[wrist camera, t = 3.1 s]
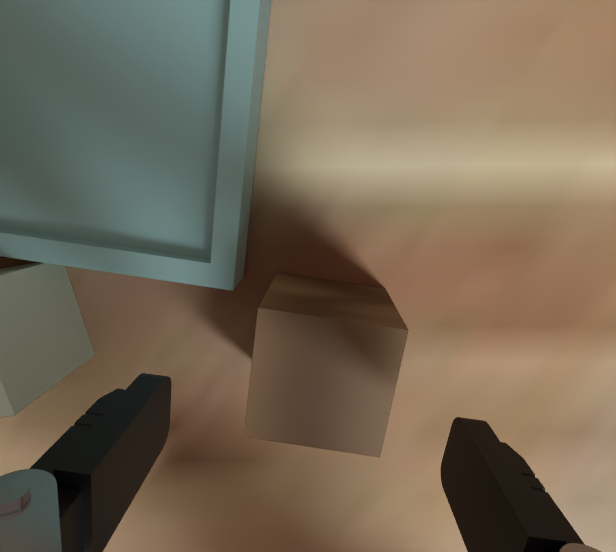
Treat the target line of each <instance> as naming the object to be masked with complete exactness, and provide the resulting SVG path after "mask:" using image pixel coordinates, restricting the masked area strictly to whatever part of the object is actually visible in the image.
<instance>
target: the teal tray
mask: <svg viewBox="0 0 616 552" xmlns="http://www.w3.org/2000/svg"><path fill="white" fill-rule="evenodd" d="M270 6H271V0H0V256H2V257H8V258H15V259H22V260H29V261H36V262H42V263H49V264H56V265H63V266H69V267H76V268H83V269H90V270H96V271H103V272H110V273H117V274H123V275H130V276H137V277H144V278H150V279H157V280H164V281H171V282H177V283H184V284H191V285H198V286H204V287H211V288H218V289H225V290H231V291H233V290H234V289H235V288H236V286H237V285H238V284H239V283H240V282H241V281H242V279H243V277H244V267H245V257H246V247H247V237H248V227H249V217H250V207H251V197H252V187H253V177H254V167H255V157H256V147H257V136H258V126H259V116H260V106H261V96H262V86H263V76H264V66H265V56H266V46H267V36H268V26H269V16H270Z"/></svg>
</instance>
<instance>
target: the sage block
mask: <svg viewBox="0 0 616 552" xmlns="http://www.w3.org/2000/svg"><path fill="white" fill-rule="evenodd" d="M93 356H95V354H94V351H93V348H92V345H91V342H90V339H89V336H88V333H87V330H86V327H85V324H84V321H83V318H82V315H81V312H80V309H79V306H78V303H77V300H76V297H75V294H74V291H73V288H72V286H71V283H70V280H69V277H68V274H67V271H66V268H65V266H63V265H56V264H49V263H42V262H36V263H30V264H24V265H18V266H12V267H7V268H1V269H0V417H6V416H14V415H16V414H17V413H19V412H20V411H21V410H23V409H24V408H25V407H27V406H28V405H29V404H31V403H32V402H33V401H35V400H36V399H37V398H39V397H40V396H41V395H43V394H44V393H45V392H47V391H48V390H49V389H51V388H52V387H53V386H55V385H56V384H57V383H59V382H60V381H61V380H63V379H64V378H65V377H67V376H68V375H69V374H71V373H72V372H73V371H75V370H76V369H77V368H79V367H80V366H81V365H83V364H84V363H85V362H87V361H88V360H89V359H91V358H92V357H93Z"/></svg>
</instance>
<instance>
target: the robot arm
mask: <svg viewBox="0 0 616 552" xmlns="http://www.w3.org/2000/svg"><path fill="white" fill-rule="evenodd" d="M170 405H171V379H170V377H167V376H160V375H153V374H146V373H142V374H140V375H139V376H138V377H137V378H136V379H135V380H134V381H133V382H132V384H131V385H130V386H129V387H128V388H127V389H126V390H123V389H116V390H114V391H113V392H111V393H109V394H107V395H105V396H103V397H101V398H100V399H98V400H97V401H96V402H95V403H94V404H93V405H92V406H91V407H90V408H89V409H88V410H87V411H86V414H85V415H82V416H81V417H80V418H79V419H78V420H77V421H76V422H75V425H74V426H71V427H70V428H69V429H68V430H67V431H66V432H65V433H64V434H63V435H62V436H61V437H60V438H59V439H58V440H57V441H56V442H55V443H54V444H53V445H52V446H51V447H50V448H49V449H48V450H47V451H46V452H45V453H44V454H43V455H42V457H41V458H40V459H39V460H38V461H37V462H36V463H35V464H34V465H33V466H32V467H31V468H30V469H25V470H19V471H15V472H11V473H8V474H5V475H3V476H0V552H103V550H104V548H105V547H106V545H107V543H108V542H109V540H110V538H111V536H112V535H113V533H114V531H115V530H116V528H117V526H118V524H119V523H120V521H121V519H122V517H123V516H124V514H125V512H126V511H127V509H128V507H129V505H130V504H131V502H132V500H133V499H134V497H135V495H136V493H137V492H138V490H139V488H140V487H141V485H142V483H143V481H144V480H145V478H146V476H147V475H148V473H149V471H150V469H151V468H152V466H153V464H154V463H155V461H156V459H157V457H158V456H159V454H160V452H161V450H162V449H163V447H164V445H165V442H166V439H167V436H168V432H169V426H170ZM441 481H442V486H443V489H444V492H445V494H446V497H447V499H448V502H449V504H450V507H451V510H452V512H453V515H454V517H455V520H456V523H457V525H458V528H459V530H460V533H461V535H462V538H463V541H464V543H465V546H466V548H467V551H468V552H601V551H599V550H597V549H595V548H592V547H590V546H587V545H585V544H584V543H583V542H582V540H581V539H580V537H579V536H578V534H577V533H576V532H575V530H574V529H573V527H572V526H571V525H570V523H569V522H568V520H567V519H566V518H565V516H564V515H563V513H562V512H561V511H560V509H559V508H558V506H557V505H556V504H555V502H554V501H553V499H552V498H551V497H550V495H549V494H548V493H547V492H545V488H544V487H543V485H542V484H541V483H540V481H539V480H538V478H535V474H534V473H533V471H532V470H531V468H530V467H529V466H528V464H527V463H526V461H525V460H524V459H523V458H522V457H521V456H520V455H519V454H518V453H517V452H515V451H514V450H513V449H512V448H511V447H510V446H508V445H507V444H506V443H503V442H500V441H499V439H498V438H497V436H496V435H495V433H494V432H493V430H492V429H491V427H490V426H489V424H488V423H487V422H486V421H482V420H475V419H467V418H460V417H457V418H455V419H454V421H453V423H452V426H451V430H450V434H449V437H448V441H447V445H446V448H445V452H444V455H443V459H442V463H441Z"/></svg>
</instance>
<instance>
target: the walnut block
mask: <svg viewBox="0 0 616 552" xmlns="http://www.w3.org/2000/svg"><path fill="white" fill-rule="evenodd" d="M407 334H408V328H407V327H406V325H405V323H404V321H403V319H402V318H401V316H400V314H399V312H398V310H397V309H396V307H395V305H394V303H393V301H392V300H391V298H390V296H389V294H388V292H387V291H386V289H385V288H379V287H372V286H365V285H359V284H352V283H345V282H338V281H332V280H325V279H318V278H311V277H304V276H298V275H291V274H284V273H276V275H275V277H274V279H273V281H272V283H271V285H270V286H269V288H268V290H267V292H266V294H265V296H264V298H263V299H262V301H261V303H260V305H259V307H258V312H257V321H256V330H255V339H254V348H253V357H252V366H251V374H250V383H249V392H248V401H247V410H246V419H245V428H244V437H249V438H256V439H262V440H269V441H275V442H282V443H288V444H295V445H301V446H308V447H314V448H321V449H328V450H334V451H341V452H347V453H354V454H360V455H367V456H373V457H380V455H381V450H382V446H383V441H384V437H385V432H386V428H387V424H388V419H389V415H390V410H391V406H392V401H393V397H394V392H395V388H396V383H397V379H398V374H399V370H400V366H401V361H402V357H403V352H404V348H405V343H406V339H407Z"/></svg>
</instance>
